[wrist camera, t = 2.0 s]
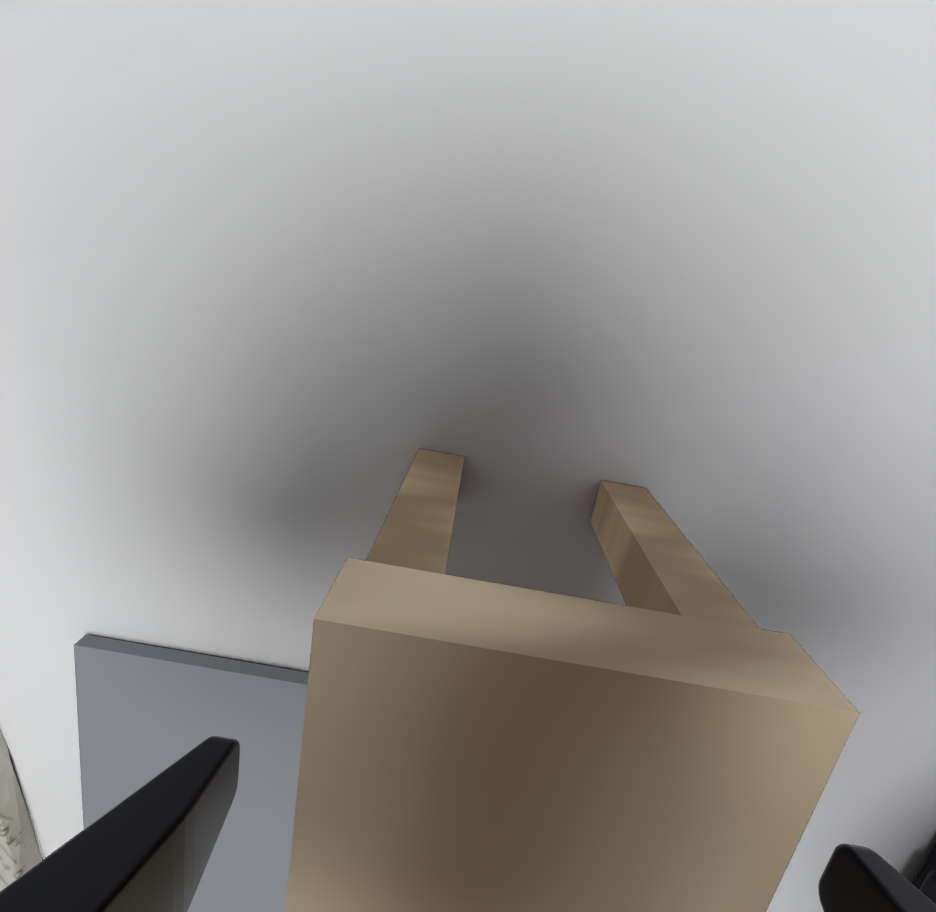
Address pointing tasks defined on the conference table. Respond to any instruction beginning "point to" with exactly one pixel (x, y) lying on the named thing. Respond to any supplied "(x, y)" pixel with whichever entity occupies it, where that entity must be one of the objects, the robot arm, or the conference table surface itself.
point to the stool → (551, 730)
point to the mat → (179, 731)
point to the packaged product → (14, 825)
